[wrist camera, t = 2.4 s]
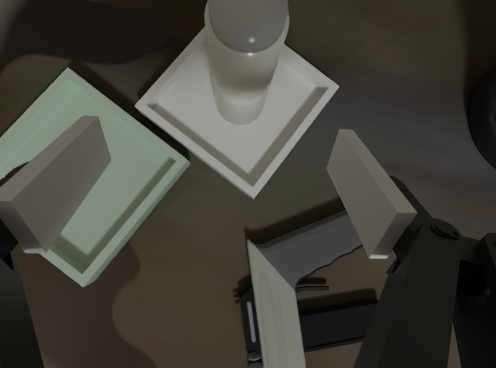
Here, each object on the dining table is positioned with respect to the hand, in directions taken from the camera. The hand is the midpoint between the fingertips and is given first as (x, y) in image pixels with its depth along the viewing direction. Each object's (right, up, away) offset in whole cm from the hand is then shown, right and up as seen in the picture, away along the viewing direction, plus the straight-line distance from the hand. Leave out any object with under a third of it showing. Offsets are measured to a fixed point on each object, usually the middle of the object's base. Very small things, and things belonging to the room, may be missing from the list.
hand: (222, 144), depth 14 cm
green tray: (-15, -1, +12) cm, 19 cm away
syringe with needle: (+9, -21, +12) cm, 26 cm away
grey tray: (+1, +7, +14) cm, 15 cm away
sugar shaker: (+1, +7, +13) cm, 15 cm away
